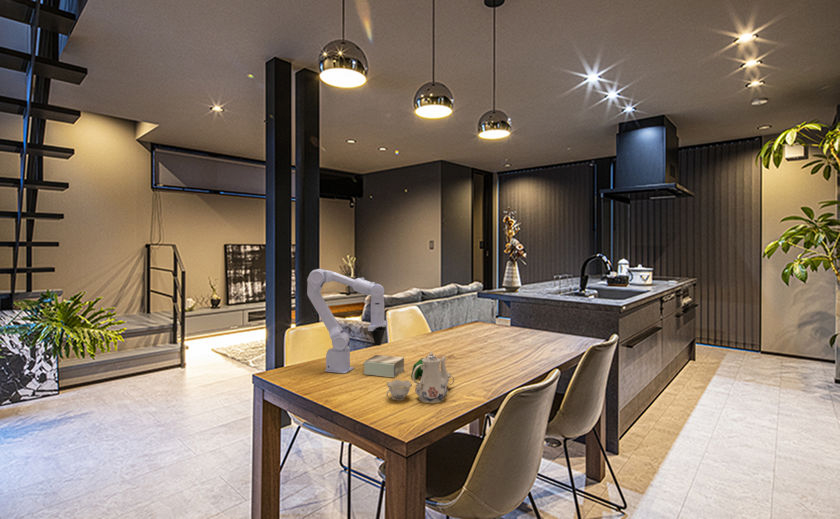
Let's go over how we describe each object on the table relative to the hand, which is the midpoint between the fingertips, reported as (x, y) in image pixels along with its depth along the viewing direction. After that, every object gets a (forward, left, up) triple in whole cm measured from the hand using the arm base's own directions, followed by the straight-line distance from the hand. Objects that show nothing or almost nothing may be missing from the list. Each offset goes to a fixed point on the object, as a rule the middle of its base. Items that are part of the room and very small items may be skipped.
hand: (377, 345), depth 174 cm
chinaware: (+29, -24, -11) cm, 39 cm away
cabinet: (+4, -3, -10) cm, 12 cm away
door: (+4, -8, -10) cm, 14 cm away
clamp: (+21, -2, -11) cm, 24 cm away
